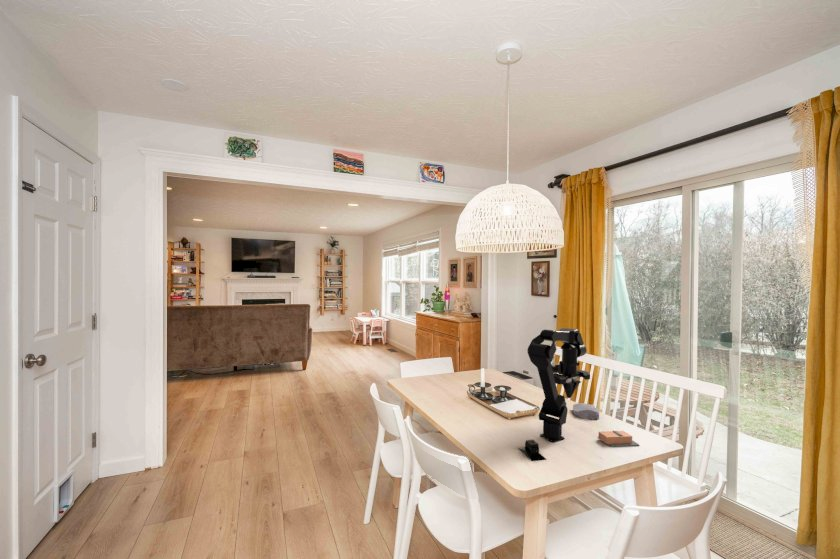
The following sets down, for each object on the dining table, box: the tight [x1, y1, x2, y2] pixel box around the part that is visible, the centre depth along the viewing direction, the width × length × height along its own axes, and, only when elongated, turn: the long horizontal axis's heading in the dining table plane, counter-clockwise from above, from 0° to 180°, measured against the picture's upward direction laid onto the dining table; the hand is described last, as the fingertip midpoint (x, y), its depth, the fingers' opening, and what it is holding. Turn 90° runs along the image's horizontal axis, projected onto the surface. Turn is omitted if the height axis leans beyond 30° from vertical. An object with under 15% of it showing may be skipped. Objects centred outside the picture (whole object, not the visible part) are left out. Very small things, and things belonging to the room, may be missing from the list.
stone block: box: [572, 402, 600, 420], centre depth 167 cm, size 12×5×10 cm
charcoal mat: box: [597, 435, 640, 448], centre depth 139 cm, size 11×8×1 cm
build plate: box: [518, 439, 547, 462], centre depth 128 cm, size 12×7×5 cm, turn 14°
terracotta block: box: [598, 430, 633, 445], centre depth 139 cm, size 3×5×10 cm
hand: (568, 397), depth 152 cm, fingers closed
